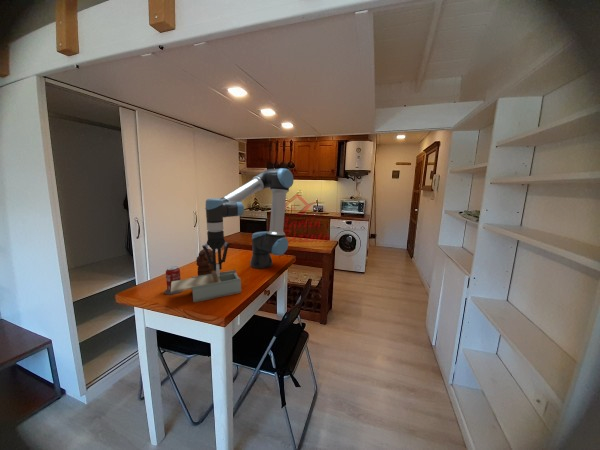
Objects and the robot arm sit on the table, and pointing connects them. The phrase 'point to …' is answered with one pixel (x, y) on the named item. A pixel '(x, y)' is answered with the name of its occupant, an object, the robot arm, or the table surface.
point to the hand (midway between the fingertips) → (217, 276)
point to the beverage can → (172, 275)
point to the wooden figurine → (204, 263)
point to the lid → (193, 282)
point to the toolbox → (218, 287)
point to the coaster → (171, 293)
